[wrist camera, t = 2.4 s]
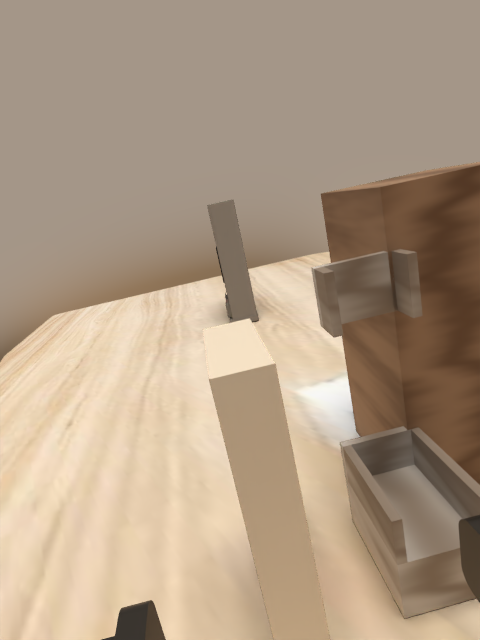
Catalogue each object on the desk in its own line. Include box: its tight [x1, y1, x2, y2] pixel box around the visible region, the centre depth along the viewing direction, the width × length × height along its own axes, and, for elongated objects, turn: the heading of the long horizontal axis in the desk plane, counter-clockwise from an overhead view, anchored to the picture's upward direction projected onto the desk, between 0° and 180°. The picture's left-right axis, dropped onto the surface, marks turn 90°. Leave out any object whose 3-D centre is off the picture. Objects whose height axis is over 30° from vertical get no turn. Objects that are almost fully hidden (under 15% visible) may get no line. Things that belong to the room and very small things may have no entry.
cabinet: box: [312, 162, 480, 619], centre depth 31 cm, size 15×20×24 cm
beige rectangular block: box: [203, 318, 330, 640], centre depth 25 cm, size 3×8×18 cm, turn 7°
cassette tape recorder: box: [208, 200, 259, 323], centre depth 92 cm, size 14×6×25 cm, turn 2°
